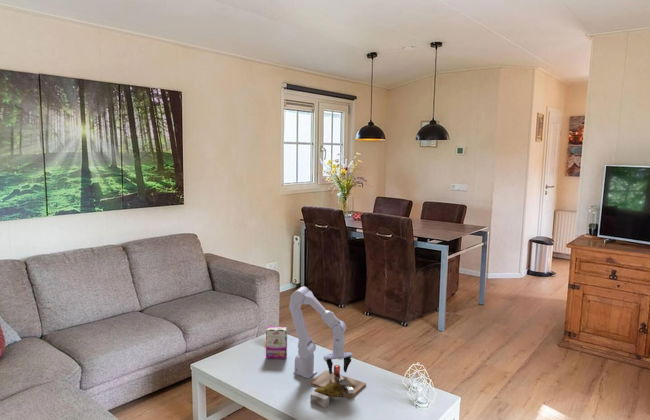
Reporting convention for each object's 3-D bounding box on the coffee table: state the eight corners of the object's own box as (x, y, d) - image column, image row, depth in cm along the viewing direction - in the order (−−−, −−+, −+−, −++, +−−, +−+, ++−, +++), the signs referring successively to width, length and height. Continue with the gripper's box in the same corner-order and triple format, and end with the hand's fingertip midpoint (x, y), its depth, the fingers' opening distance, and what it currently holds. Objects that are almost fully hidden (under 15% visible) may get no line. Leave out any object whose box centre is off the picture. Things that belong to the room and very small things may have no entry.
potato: (321, 390, 217) (321, 374, 216) (345, 398, 211) (345, 382, 210) (311, 398, 210) (312, 382, 209) (336, 406, 203) (337, 389, 202)
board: (293, 396, 211) (293, 387, 211) (325, 372, 235) (325, 364, 234) (336, 412, 199) (336, 403, 199) (365, 385, 223) (366, 377, 222)
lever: (355, 393, 213) (355, 382, 212) (346, 394, 211) (346, 383, 210) (339, 374, 230) (339, 364, 229) (331, 376, 228) (331, 365, 228)
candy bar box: (287, 355, 253) (287, 326, 251) (286, 359, 248) (286, 330, 246) (267, 354, 254) (267, 326, 252) (265, 358, 249) (265, 329, 247)
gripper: (327, 351, 220) (326, 377, 222) (355, 348, 224) (354, 374, 226) (322, 345, 227) (321, 371, 228) (350, 342, 231) (349, 367, 233)
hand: (337, 372), depth 228 cm, fingers open, 7 cm apart
